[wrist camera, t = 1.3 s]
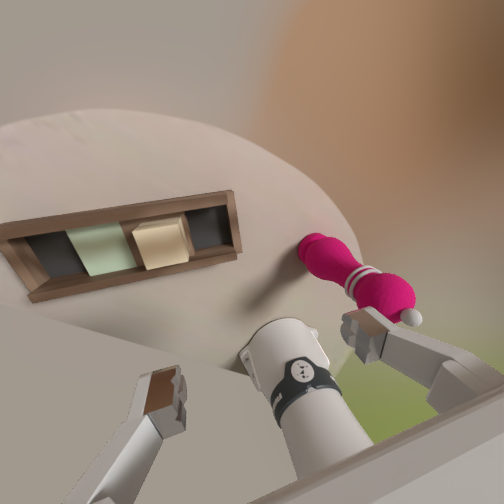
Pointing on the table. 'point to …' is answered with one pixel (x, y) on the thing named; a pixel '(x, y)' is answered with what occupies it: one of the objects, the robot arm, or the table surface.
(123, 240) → the tray
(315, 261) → the pepper mill
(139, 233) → the maple block
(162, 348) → the table surface
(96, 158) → the table surface
